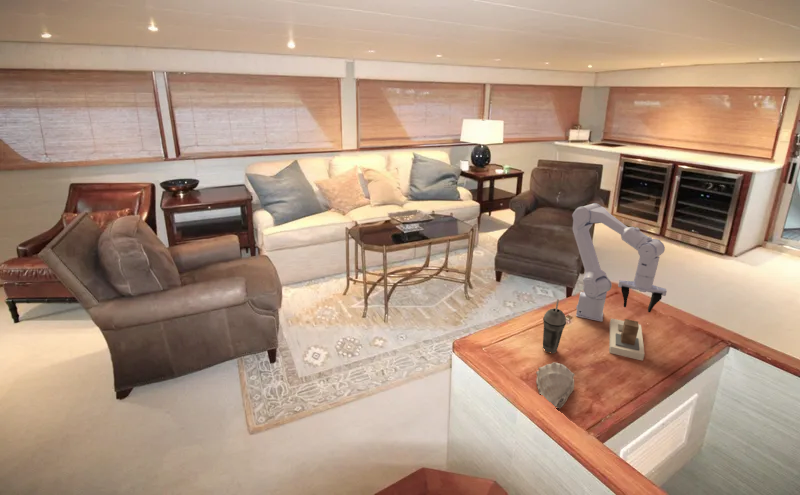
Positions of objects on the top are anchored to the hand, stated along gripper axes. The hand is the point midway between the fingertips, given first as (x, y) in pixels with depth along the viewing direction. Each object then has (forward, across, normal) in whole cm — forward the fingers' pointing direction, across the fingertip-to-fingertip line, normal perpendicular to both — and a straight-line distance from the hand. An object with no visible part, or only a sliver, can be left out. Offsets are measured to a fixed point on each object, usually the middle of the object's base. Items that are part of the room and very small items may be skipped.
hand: (636, 308), depth 148 cm
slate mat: (+8, -2, -12) cm, 14 cm away
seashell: (+11, -20, -46) cm, 51 cm away
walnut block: (+7, -2, -11) cm, 13 cm away
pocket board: (+10, -2, -6) cm, 12 cm away
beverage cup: (+10, -25, -24) cm, 36 cm away
